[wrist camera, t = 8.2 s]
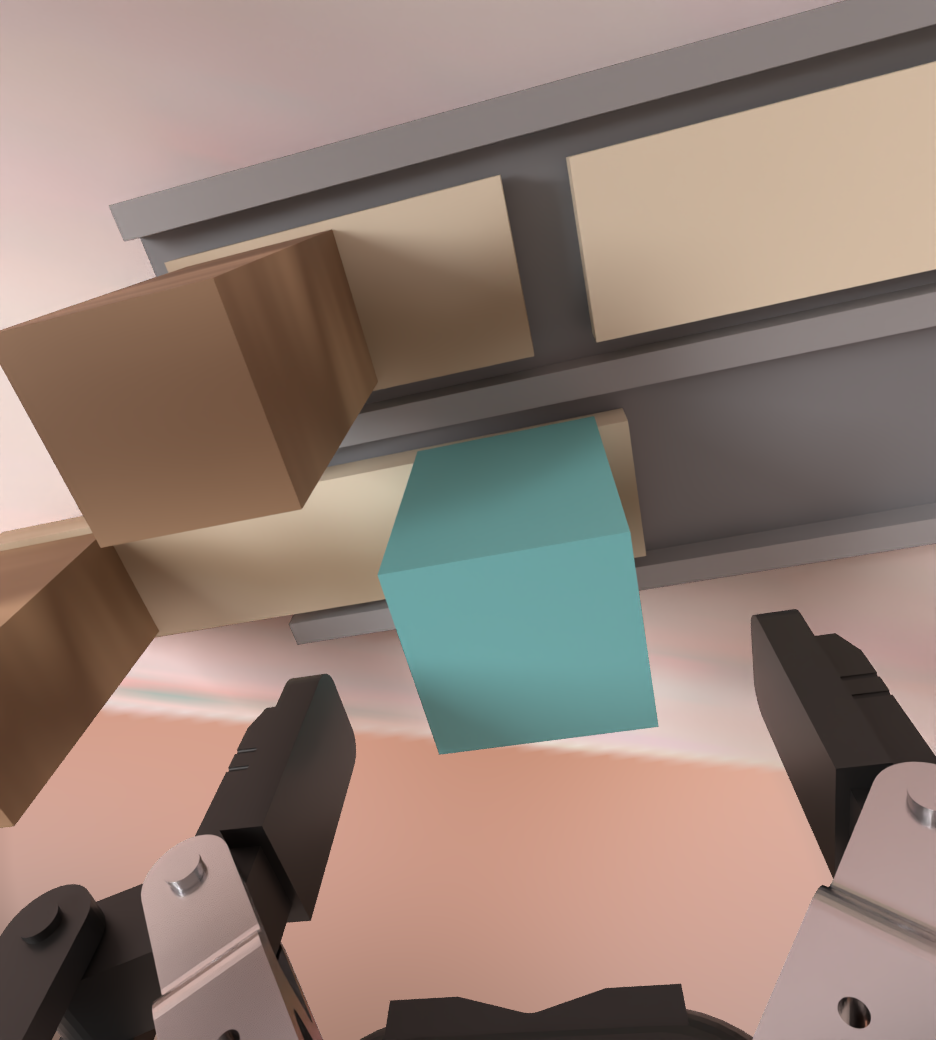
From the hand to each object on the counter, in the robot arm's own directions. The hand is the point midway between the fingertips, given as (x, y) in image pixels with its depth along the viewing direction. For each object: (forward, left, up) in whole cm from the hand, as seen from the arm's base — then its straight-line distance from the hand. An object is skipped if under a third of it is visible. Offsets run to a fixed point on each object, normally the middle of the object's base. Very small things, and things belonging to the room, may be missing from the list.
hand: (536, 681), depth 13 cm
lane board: (-3, +2, -9) cm, 10 cm away
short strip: (-6, -3, -7) cm, 10 cm away
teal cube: (0, 0, -6) cm, 6 cm away
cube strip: (0, -6, -7) cm, 10 cm away
